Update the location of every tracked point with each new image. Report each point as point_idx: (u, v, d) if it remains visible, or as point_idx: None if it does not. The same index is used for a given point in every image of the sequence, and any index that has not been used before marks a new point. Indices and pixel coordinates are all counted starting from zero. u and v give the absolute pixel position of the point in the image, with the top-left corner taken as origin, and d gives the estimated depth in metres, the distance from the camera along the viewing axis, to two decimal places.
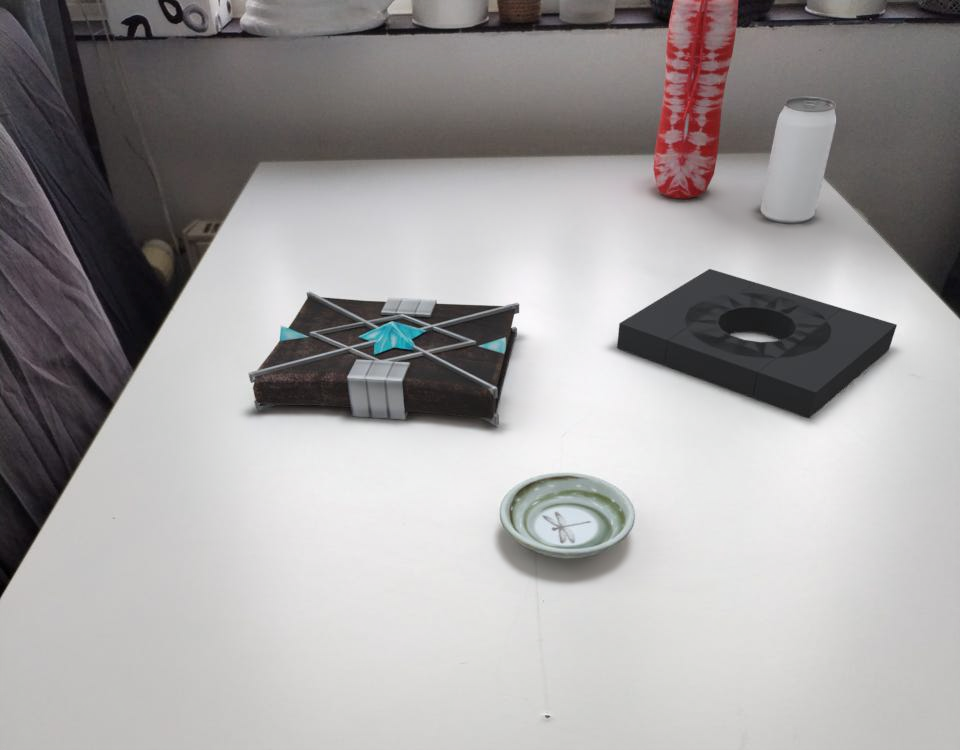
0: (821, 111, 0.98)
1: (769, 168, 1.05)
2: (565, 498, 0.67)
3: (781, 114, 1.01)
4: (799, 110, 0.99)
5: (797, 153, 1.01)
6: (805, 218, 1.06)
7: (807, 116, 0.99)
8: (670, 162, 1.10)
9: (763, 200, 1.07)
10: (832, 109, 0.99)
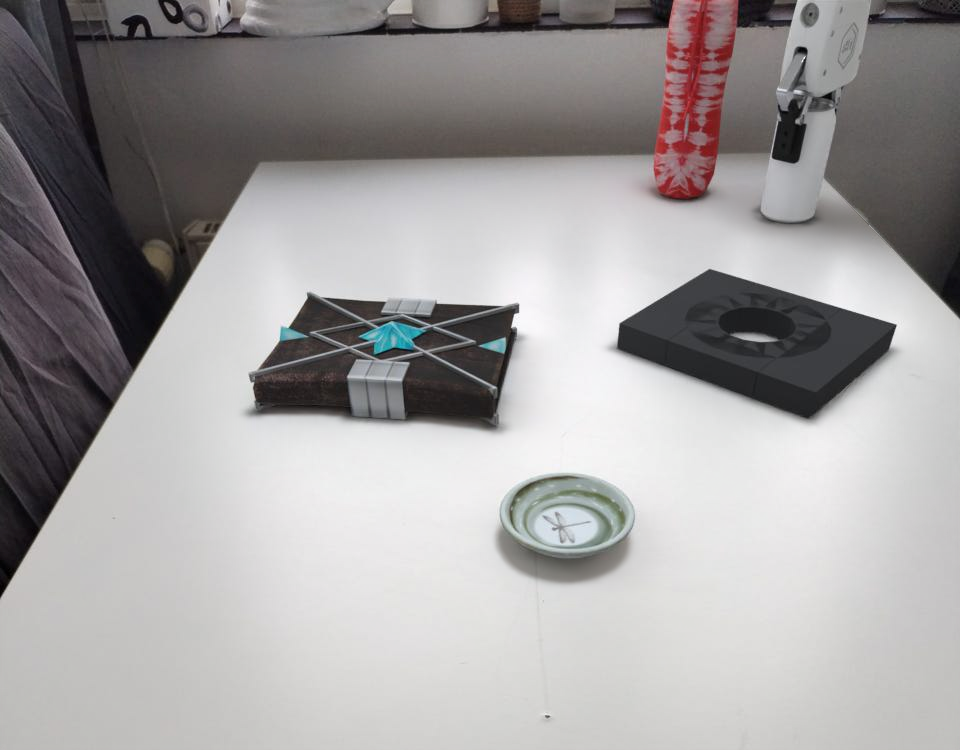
0: (821, 111, 0.98)
1: (769, 168, 1.05)
2: (565, 498, 0.67)
3: None
4: None
5: None
6: (805, 218, 1.06)
7: (807, 116, 0.99)
8: (670, 162, 1.10)
9: (763, 200, 1.07)
10: (832, 109, 0.99)
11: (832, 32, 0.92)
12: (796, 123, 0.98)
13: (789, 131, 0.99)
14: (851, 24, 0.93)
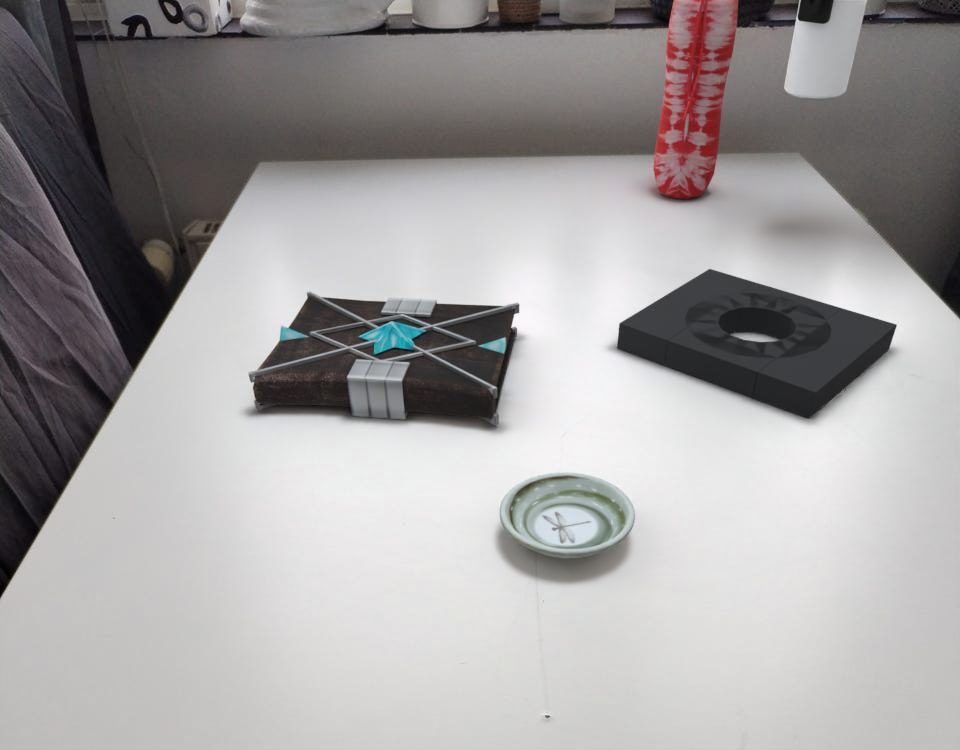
0: None
1: (794, 35, 0.92)
2: (565, 498, 0.67)
3: None
4: None
5: None
6: (835, 94, 0.93)
7: None
8: (670, 162, 1.10)
9: (787, 75, 0.94)
10: None
11: None
12: None
13: None
14: None
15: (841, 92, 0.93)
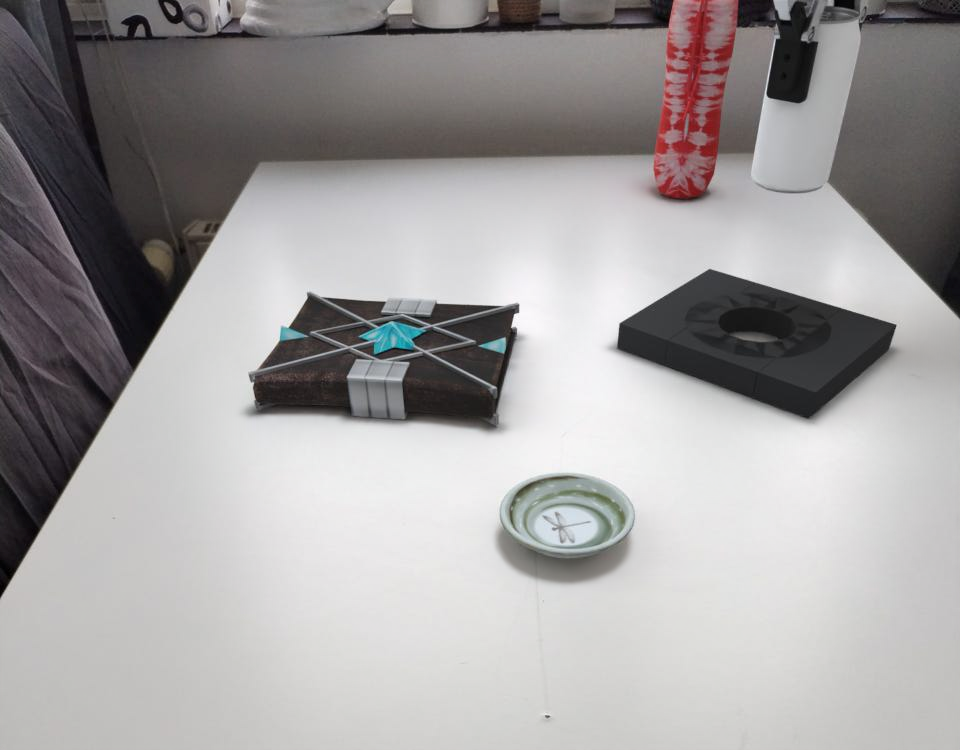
0: (839, 22, 0.66)
1: (763, 113, 0.73)
2: (565, 499, 0.67)
3: None
4: None
5: None
6: (815, 186, 0.74)
7: (818, 31, 0.66)
8: (670, 162, 1.10)
9: (754, 161, 0.75)
10: (855, 20, 0.67)
11: None
12: (802, 41, 0.66)
13: (792, 53, 0.67)
14: None
15: (822, 183, 0.74)
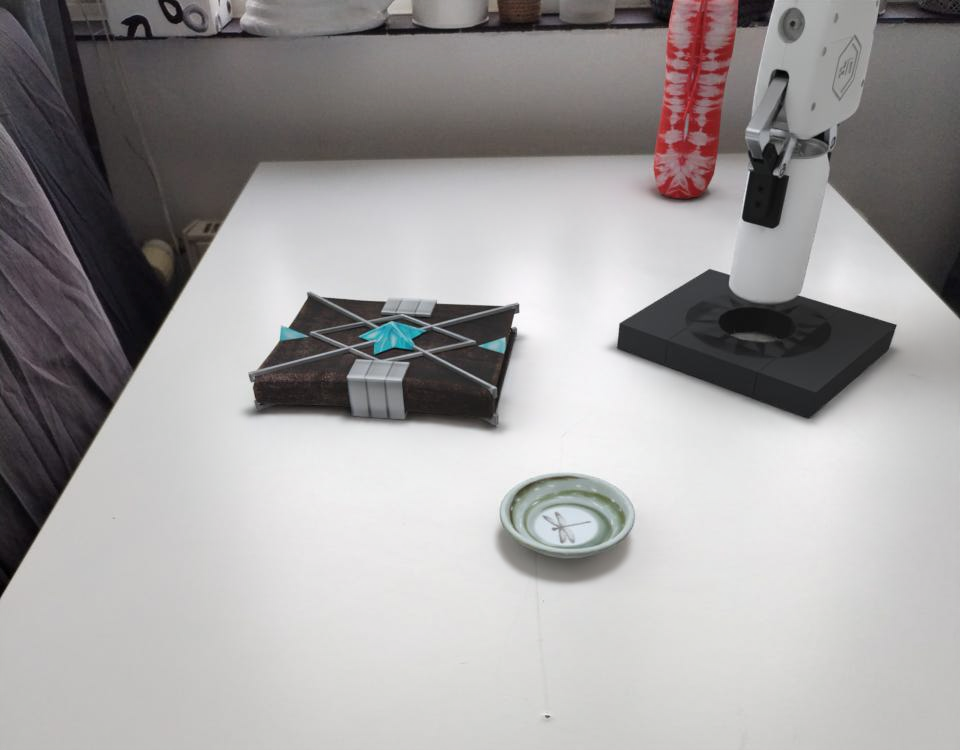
0: (808, 158, 0.71)
1: (739, 231, 0.77)
2: (565, 499, 0.67)
3: None
4: None
5: None
6: (788, 298, 0.78)
7: (789, 165, 0.71)
8: (670, 162, 1.10)
9: (732, 273, 0.80)
10: (824, 154, 0.71)
11: (824, 49, 0.64)
12: (774, 175, 0.70)
13: (765, 185, 0.71)
14: (851, 38, 0.66)
15: (795, 295, 0.79)
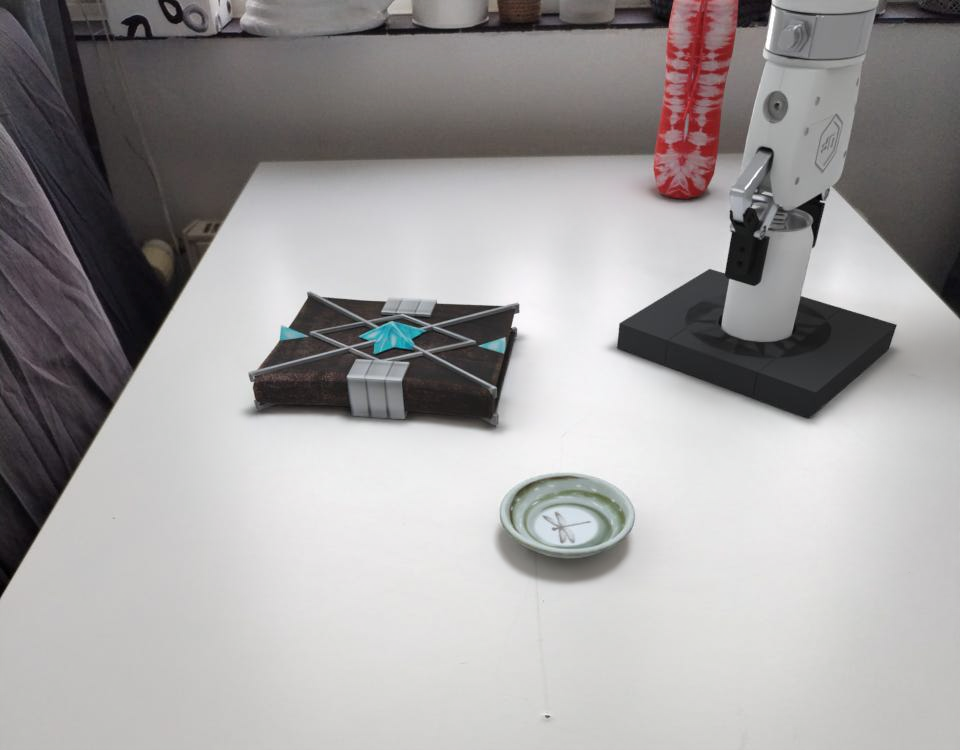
0: (793, 230, 0.75)
1: (728, 295, 0.81)
2: (565, 498, 0.67)
3: None
4: None
5: (763, 282, 0.77)
6: None
7: (775, 237, 0.75)
8: (670, 162, 1.10)
9: None
10: (808, 227, 0.75)
11: (806, 130, 0.67)
12: (754, 236, 0.72)
13: (746, 246, 0.74)
14: (833, 117, 0.69)
15: None
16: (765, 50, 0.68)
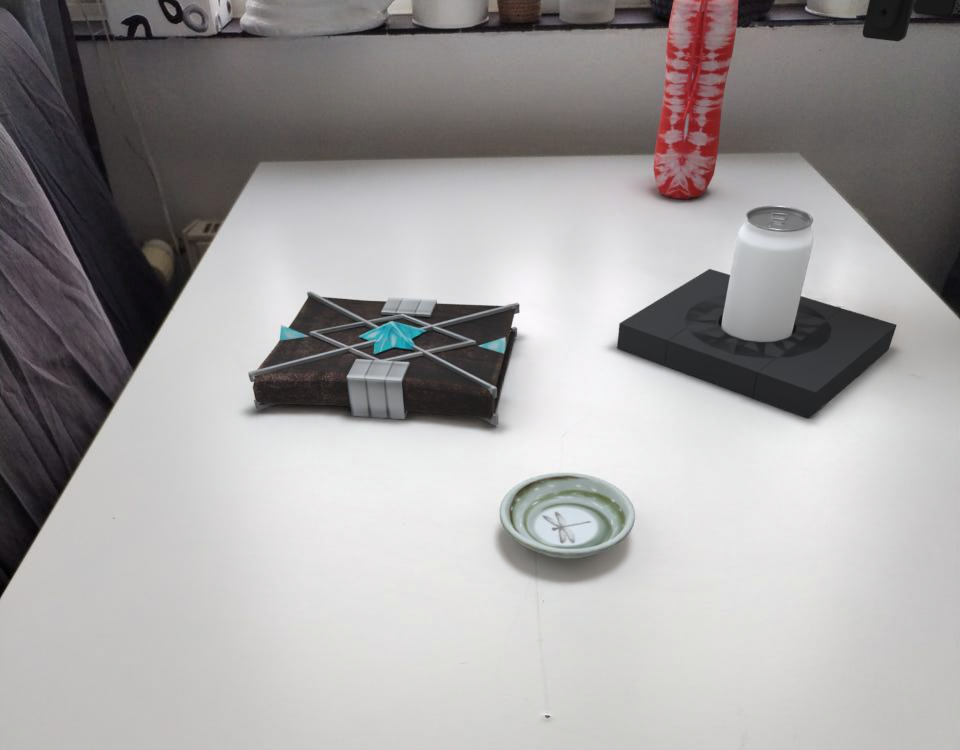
0: (793, 230, 0.75)
1: (728, 295, 0.81)
2: (565, 498, 0.67)
3: (742, 230, 0.77)
4: (764, 228, 0.75)
5: (763, 281, 0.77)
6: None
7: (775, 237, 0.75)
8: (670, 162, 1.10)
9: None
10: (808, 227, 0.75)
11: None
12: None
13: None
14: None
15: None
16: None
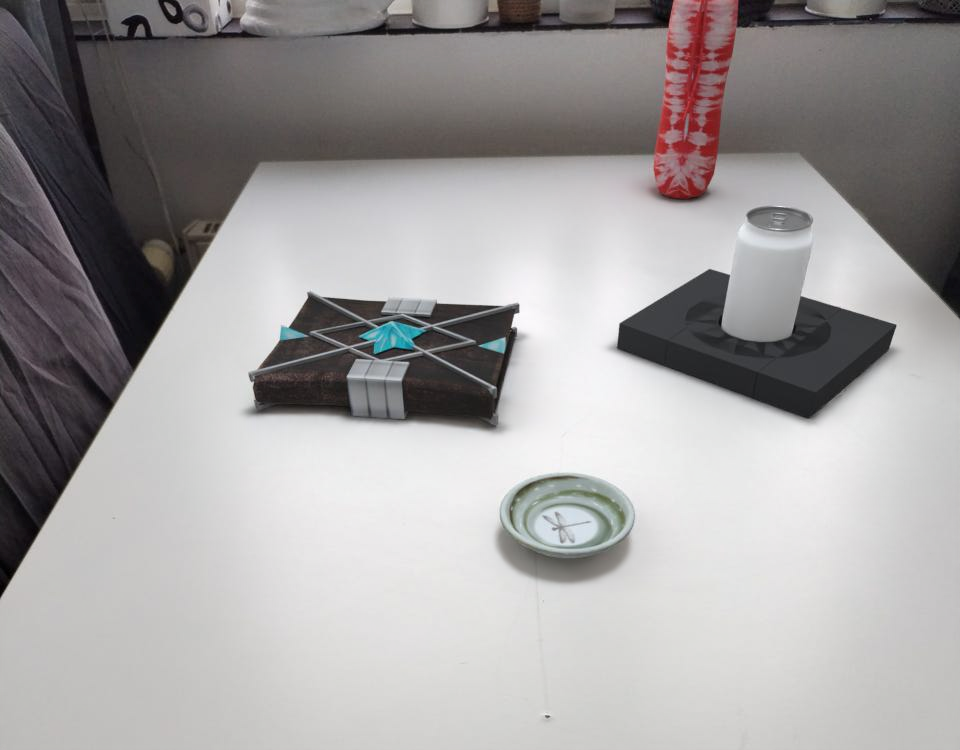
0: (793, 230, 0.75)
1: (728, 294, 0.81)
2: (565, 498, 0.67)
3: (741, 230, 0.77)
4: (764, 228, 0.75)
5: (763, 281, 0.77)
6: None
7: (775, 237, 0.75)
8: (670, 162, 1.10)
9: None
10: (808, 227, 0.75)
11: None
12: None
13: None
14: None
15: None
16: None
